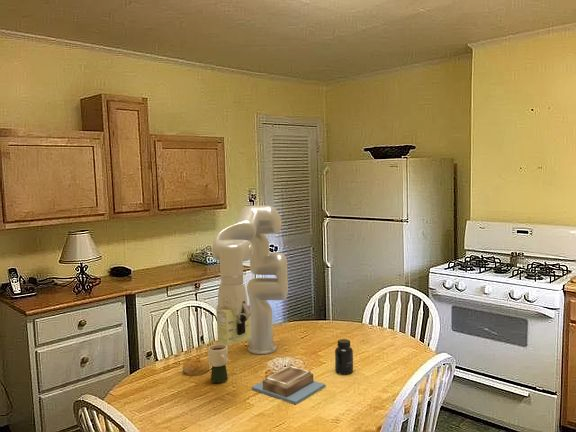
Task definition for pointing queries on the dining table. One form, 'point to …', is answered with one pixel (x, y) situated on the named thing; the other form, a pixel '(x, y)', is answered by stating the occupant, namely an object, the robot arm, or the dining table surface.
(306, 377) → the tray
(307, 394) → the board
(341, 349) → the supplement bottle
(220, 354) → the character mug
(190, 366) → the bagel
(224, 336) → the box
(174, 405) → the dining table surface
